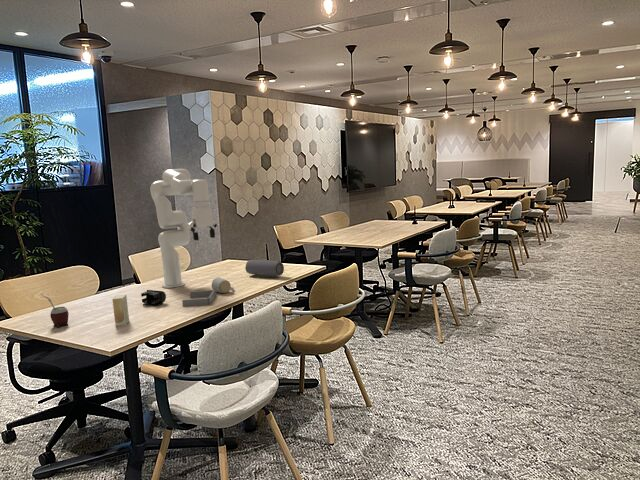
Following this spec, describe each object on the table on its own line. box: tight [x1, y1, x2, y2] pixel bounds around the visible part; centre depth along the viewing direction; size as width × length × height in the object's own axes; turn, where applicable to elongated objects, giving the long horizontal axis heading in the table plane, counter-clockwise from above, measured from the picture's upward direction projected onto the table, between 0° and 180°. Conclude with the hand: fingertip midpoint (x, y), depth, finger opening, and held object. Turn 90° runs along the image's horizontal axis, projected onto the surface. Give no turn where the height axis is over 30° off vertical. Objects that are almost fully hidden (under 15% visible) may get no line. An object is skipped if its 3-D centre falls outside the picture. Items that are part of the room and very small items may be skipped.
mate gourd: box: [42, 295, 70, 329], centre depth 222 cm, size 8×8×15 cm
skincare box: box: [112, 294, 130, 327], centre depth 220 cm, size 6×4×12 cm
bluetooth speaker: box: [244, 259, 285, 278], centre depth 303 cm, size 23×9×10 cm, turn 58°
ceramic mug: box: [211, 276, 235, 294], centre depth 270 cm, size 11×8×8 cm
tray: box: [181, 289, 217, 307], centre depth 254 cm, size 18×13×3 cm
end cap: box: [140, 289, 167, 307], centre depth 253 cm, size 10×7×7 cm
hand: (204, 238), depth 255 cm, fingers open, 9 cm apart
